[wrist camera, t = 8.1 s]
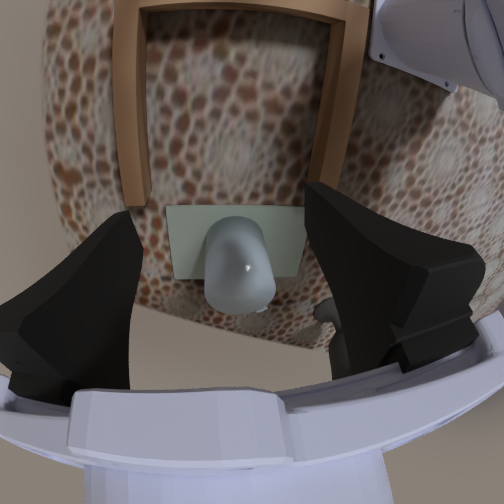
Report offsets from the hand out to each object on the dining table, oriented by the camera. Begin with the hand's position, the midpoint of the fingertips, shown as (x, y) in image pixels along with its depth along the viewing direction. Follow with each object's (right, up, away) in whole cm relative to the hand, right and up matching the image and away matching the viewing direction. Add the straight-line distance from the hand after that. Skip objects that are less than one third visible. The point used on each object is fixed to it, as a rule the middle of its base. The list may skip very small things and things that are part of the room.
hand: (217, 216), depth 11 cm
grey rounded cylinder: (0, 0, +13) cm, 13 cm away
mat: (0, -1, +14) cm, 14 cm away
